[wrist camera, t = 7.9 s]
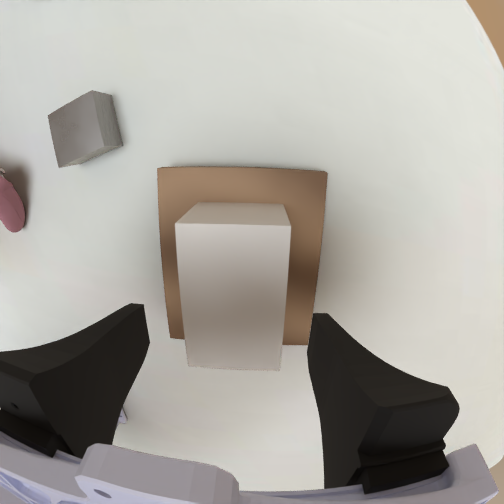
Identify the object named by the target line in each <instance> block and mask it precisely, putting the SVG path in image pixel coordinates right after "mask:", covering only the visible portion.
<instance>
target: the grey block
mask: <svg viewBox="0 0 504 504" xmlns="http://www.w3.org/2000/svg"><path fill="white" fill-rule="evenodd" d="M48 119H49V125H50V130H51V135H52V140H53V145H54V149H55V154H56V158H57V162H58V166H59V168H61V167H66V166H71V165H77V164H81V163H83V162H85V161H88V160H90V159H92V158H94V157H97V156H99V155H101V154H103V153H106V152H108V151H111V150H113V149H115V148H118V147H120V146H123V143H122V139H121V135H120V130H119V126H118V122H117V118H116V113H115V109H114V104H113V99H112V95H108V94H105V93H101V92H97V91H93V90H92V91H90V92H88V93H86V94H84V95H82V96H80V97H79V98H77V99H75V100H73V101H71V102H70V103H68V104H66V105H64V106H63V107H61V108H59V109H58V110H56V111H54V112H53V113H51V114H50V115H48Z"/></svg>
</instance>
